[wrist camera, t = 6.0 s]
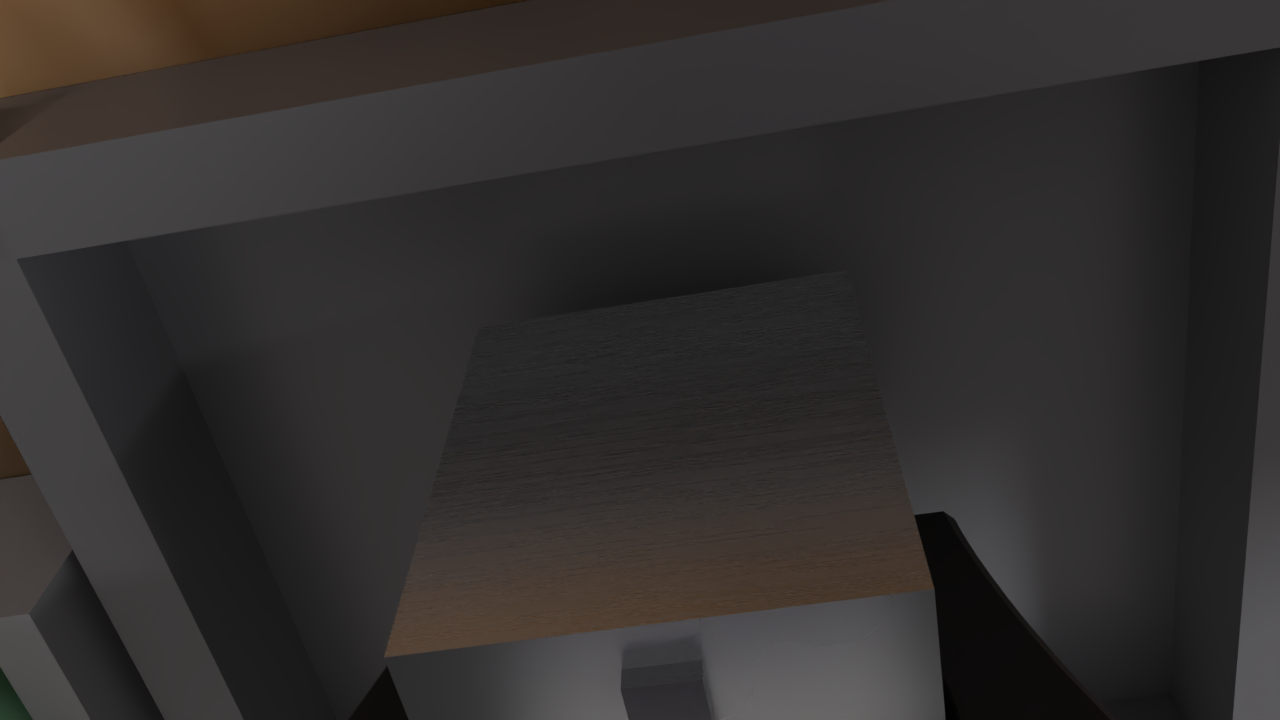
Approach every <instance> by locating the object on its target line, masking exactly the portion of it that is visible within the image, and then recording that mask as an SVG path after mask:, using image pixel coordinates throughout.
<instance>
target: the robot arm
mask: <svg viewBox="0 0 1280 720" xmlns="http://www.w3.org/2000/svg"><path fill="white" fill-rule="evenodd" d="M914 517H915V520H916V524H917V528H918V531H919V535H920V538H921V542H922V546H923V549H924V553H925V557H926V560H927V564H928V567H929V571H930V575H931V578H932V582H933V586H934V589H935V601H936V613H937V625H938V636H939V648H940V660H941V672H942V683H943V695H944V707H945V718H946V720H1116V719H1115V718H1114V717H1113V716H1112V715H1111V714H1110V713H1109V712H1108V711H1107V710H1106V709H1105V708H1104V707H1103V706H1102V705H1101V704H1100V702H1099V701H1098V700H1097V699H1096V698H1095V697H1094V696H1093V695H1092V694H1091V693H1090V692H1089V691H1088V690H1087V689H1086V688H1085V687H1084V686H1083V685H1082V684H1081V683H1080V682H1079V681H1078V680H1077V679H1076V677H1075V676H1074V675H1073V674H1072V673H1071V672H1070V671H1069V670H1068V669H1067V667H1066V666H1065V665H1064V664H1063V663H1062V662H1061V661H1060V660H1059V659H1058V658H1057V656H1056V655H1055V654H1054V653H1053V652H1052V651H1051V649H1050V648H1049V647H1048V646H1047V645H1046V643H1045V642H1044V641H1043V640H1042V639H1041V638H1040V636H1039V635H1038V634H1037V633H1036V632H1035V630H1034V629H1033V628H1032V627H1031V626H1030V625H1029V623H1028V622H1027V621H1026V620H1025V619H1024V617H1023V616H1022V615H1021V614H1020V613H1019V611H1018V610H1017V609H1016V608H1015V606H1014V605H1013V604H1012V602H1011V601H1010V600H1009V599H1008V597H1007V596H1006V595H1005V593H1004V592H1003V591H1002V589H1001V588H1000V587H999V585H998V584H997V583H996V581H995V580H994V579H993V577H992V576H991V575H990V573H989V572H988V571H987V569H986V568H985V566H984V565H983V563H982V562H981V561H980V559H979V558H978V556H977V555H976V553H975V552H974V550H973V549H972V547H971V546H970V544H969V542H968V541H967V539H966V538H965V536H964V534H963V533H962V531H961V529H960V528H959V526H958V524H957V522H956V520H955V519H954V518H953V517H951V516H950V515H948V514H947V513H945V512H944V511H941V512H933V513H925V514H917V515H914ZM348 720H409V719H408V717H407V714H406V712H405V709H404V707H403V704H402V702H401V699H400V697H399V694H398V692H397V689H396V687H395V684H394V682H393V679H392V677H391V674H390V672H389V669H388V667H387V666H386V667H385V669H384V670H383V672H382V673H381V674H380V676H379V677H378V679H377V680H376V681H375V683H374V684H373V685H372V687H371V688H370V690H369V691H368V692H367V694H366V695H365V696H364V698H363V699H362V701H361V702H360V703H359V705H358V706H357V707H356V709H355V710H354V712H353V713H352V714H351V716H350V717H349V718H348Z"/></svg>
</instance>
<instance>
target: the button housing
mask: <svg viewBox="0 0 1280 720" xmlns="http://www.w3.org/2000/svg"><path fill="white" fill-rule="evenodd" d="M0 667H1V669H2V670H3V672H4V674H5V675H6V677H7V678H8V680H9V682H10V683H11V685H12V687H13V688H14V690H15V691H16V693H17V695H18V696H19V698H20V700H21V701H22V703H23V704H24V706H25V708H26V709H27V711H28V713H29V714H30V716H31V717H32V719H33V720H164V718H163V716H162V714H161V712H160V710H159V709H158V707H157V705H156V703H155V701H154V699H153V697H152V696H151V694H150V692H149V690H148V688H147V686H146V684H145V683H144V681H143V679H142V677H141V675H140V673H139V671H138V670H137V668H136V666H135V664H134V662H133V660H132V659H131V657H130V655H129V653H128V651H127V649H126V647H125V646H124V644H123V642H122V640H121V638H120V636H119V634H118V633H117V631H116V629H115V627H114V625H113V623H112V622H111V620H110V618H109V616H108V614H107V612H106V610H105V609H104V607H103V605H102V603H101V601H100V599H99V597H98V596H97V594H96V592H95V590H94V588H93V586H92V585H91V583H90V581H89V579H88V577H87V575H86V573H85V572H84V570H83V568H82V566H81V564H80V562H79V560H78V559H77V557H76V555H75V553H74V551H73V549H72V548H71V546H70V544H69V542H68V540H67V538H66V536H65V535H64V533H63V531H62V529H61V527H60V525H59V523H58V522H57V520H56V518H55V516H54V514H53V512H52V511H51V509H50V507H49V505H48V503H47V501H46V499H45V498H44V496H43V494H42V492H41V490H40V488H39V486H38V485H37V483H36V481H35V479H34V477H33V475H27V476H20V477H13V478H6V479H0Z"/></svg>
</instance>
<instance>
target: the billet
mask: <svg viewBox="0 0 1280 720" xmlns="http://www.w3.org/2000/svg"><path fill="white" fill-rule="evenodd" d="M384 659H385V662H386V664H387V667H388V669H389V672H390V674H391V677H392V679H393V682H394V684H395V687H396V689H397V692H398V694H399V697H400V699H401V702H402V704H403V707H404V709H405V712H406V714H407V717H408V719H409V720H946V718H945V707H944V695H943V683H942V672H941V660H940V648H939V636H938V625H937V613H936V601H935V589H934V586H933V582H932V578H931V575H930V571H929V567H928V564H927V560H926V557H925V553H924V549H923V546H922V542H921V538H920V535H919V531H918V528H917V524H916V520H915V517H914V513H913V510H912V506H911V502H910V499H909V495H908V491H907V488H906V484H905V481H904V477H903V473H902V470H901V466H900V462H899V459H898V455H897V452H896V448H895V444H894V441H893V437H892V433H891V430H890V426H889V423H888V419H887V415H886V412H885V408H884V405H883V401H882V397H881V394H880V390H879V386H878V383H877V379H876V376H875V372H874V368H873V365H872V361H871V357H870V354H869V350H868V347H867V343H866V339H865V336H864V332H863V328H862V325H861V321H860V318H859V314H858V310H857V307H856V303H855V299H854V296H853V292H852V289H851V285H850V281H849V278H848V274H847V271H846V270H844V271H838V272H831V273H825V274H818V275H812V276H806V277H799V278H793V279H786V280H780V281H773V282H767V283H761V284H754V285H748V286H741V287H735V288H728V289H722V290H715V291H709V292H703V293H696V294H690V295H683V296H677V297H670V298H664V299H658V300H651V301H645V302H638V303H632V304H625V305H619V306H613V307H606V308H600V309H593V310H587V311H580V312H574V313H568V314H561V315H555V316H548V317H542V318H535V319H529V320H522V321H516V322H510V323H503V324H497V325H490V326H484V327H479V328H478V331H477V335H476V338H475V342H474V345H473V349H472V352H471V356H470V359H469V363H468V366H467V369H466V373H465V376H464V380H463V383H462V387H461V390H460V394H459V397H458V401H457V404H456V408H455V411H454V415H453V418H452V422H451V425H450V429H449V432H448V436H447V439H446V443H445V446H444V450H443V453H442V457H441V460H440V464H439V467H438V471H437V474H436V478H435V481H434V485H433V488H432V491H431V495H430V498H429V502H428V505H427V509H426V512H425V516H424V519H423V523H422V526H421V530H420V533H419V537H418V540H417V544H416V547H415V551H414V554H413V558H412V561H411V565H410V568H409V572H408V575H407V579H406V582H405V586H404V589H403V593H402V596H401V600H400V603H399V606H398V610H397V613H396V617H395V620H394V624H393V627H392V631H391V634H390V638H389V641H388V645H387V648H386V652H385V655H384Z"/></svg>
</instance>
